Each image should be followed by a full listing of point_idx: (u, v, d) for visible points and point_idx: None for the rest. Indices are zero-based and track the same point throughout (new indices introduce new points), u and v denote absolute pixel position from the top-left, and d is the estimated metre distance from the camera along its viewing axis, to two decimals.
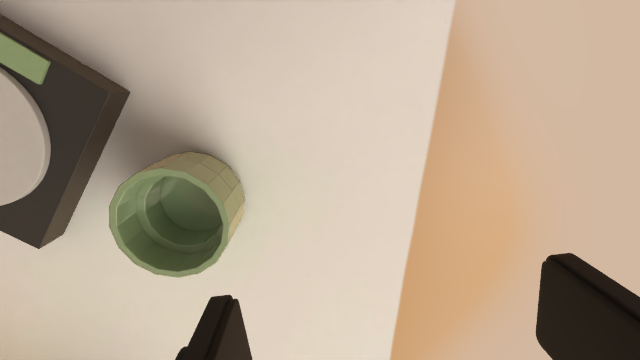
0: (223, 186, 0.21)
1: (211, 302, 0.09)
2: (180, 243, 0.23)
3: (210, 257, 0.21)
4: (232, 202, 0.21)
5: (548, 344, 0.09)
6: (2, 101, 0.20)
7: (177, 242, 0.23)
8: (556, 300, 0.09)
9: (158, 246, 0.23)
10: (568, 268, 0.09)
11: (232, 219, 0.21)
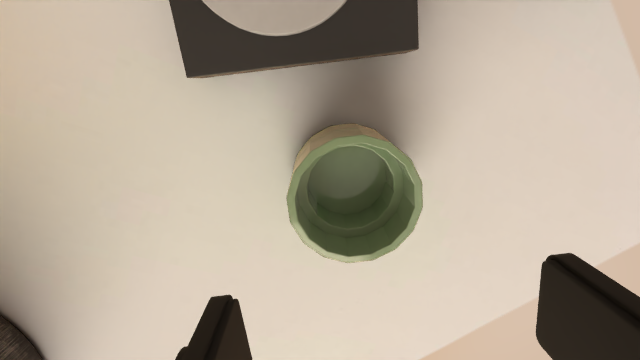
0: None
1: (211, 302, 0.09)
2: (311, 205, 0.20)
3: (345, 254, 0.18)
4: None
5: (548, 344, 0.09)
6: None
7: (309, 202, 0.20)
8: (556, 300, 0.09)
9: (297, 192, 0.19)
10: (568, 268, 0.09)
11: None
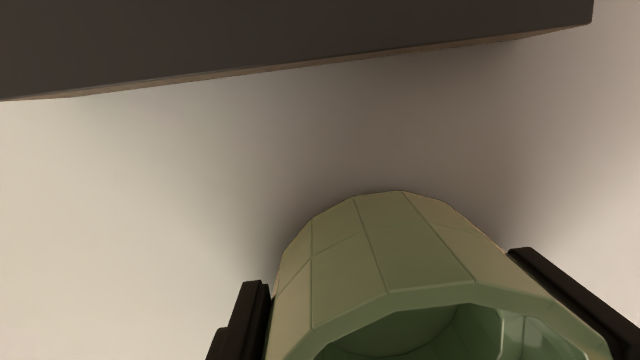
0: None
1: (244, 286, 0.09)
2: None
3: None
4: None
5: None
6: None
7: None
8: None
9: None
10: (524, 260, 0.09)
11: None
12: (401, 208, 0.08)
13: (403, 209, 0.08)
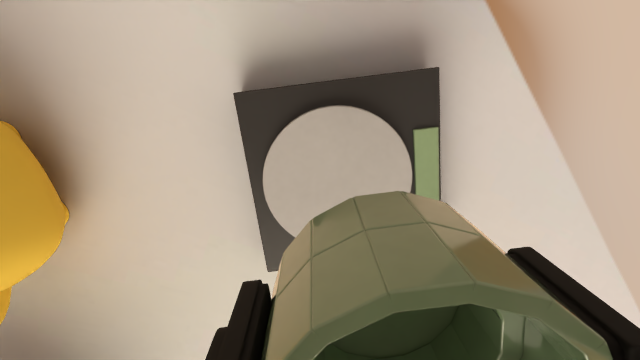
0: None
1: (244, 286, 0.09)
2: None
3: None
4: None
5: None
6: None
7: None
8: None
9: None
10: (525, 260, 0.09)
11: None
12: (401, 209, 0.08)
13: (403, 210, 0.08)
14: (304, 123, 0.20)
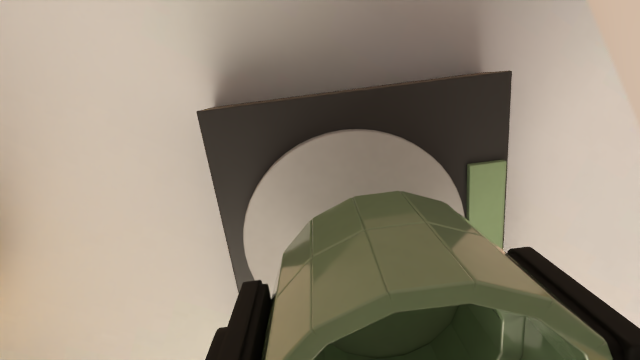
0: None
1: (244, 286, 0.09)
2: None
3: None
4: None
5: None
6: None
7: None
8: None
9: None
10: (525, 260, 0.09)
11: None
12: (401, 208, 0.08)
13: (403, 209, 0.08)
14: (305, 157, 0.13)
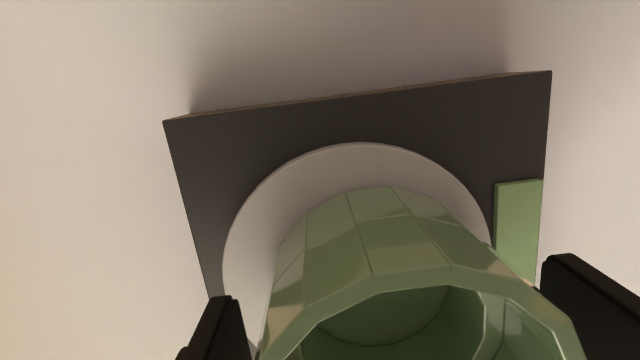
0: None
1: (211, 302, 0.09)
2: None
3: None
4: None
5: None
6: None
7: (304, 356, 0.10)
8: (556, 300, 0.09)
9: None
10: (568, 268, 0.09)
11: None
12: (390, 202, 0.09)
13: (391, 203, 0.09)
14: (297, 177, 0.11)
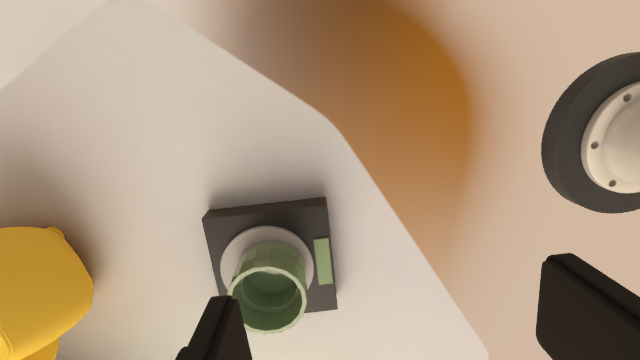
0: None
1: (211, 302, 0.09)
2: (246, 295, 0.32)
3: (263, 328, 0.31)
4: None
5: (549, 344, 0.09)
6: None
7: (244, 292, 0.32)
8: (556, 300, 0.09)
9: (236, 289, 0.31)
10: (568, 268, 0.09)
11: None
12: (268, 248, 0.32)
13: (269, 248, 0.31)
14: (245, 237, 0.33)
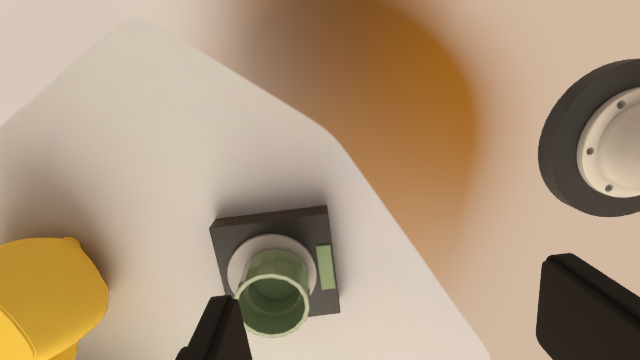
0: None
1: (211, 302, 0.09)
2: (252, 300, 0.34)
3: (269, 332, 0.32)
4: None
5: (548, 344, 0.09)
6: None
7: (250, 298, 0.34)
8: (556, 300, 0.09)
9: (242, 295, 0.33)
10: (568, 268, 0.09)
11: None
12: (273, 255, 0.33)
13: (273, 256, 0.33)
14: (250, 245, 0.35)
